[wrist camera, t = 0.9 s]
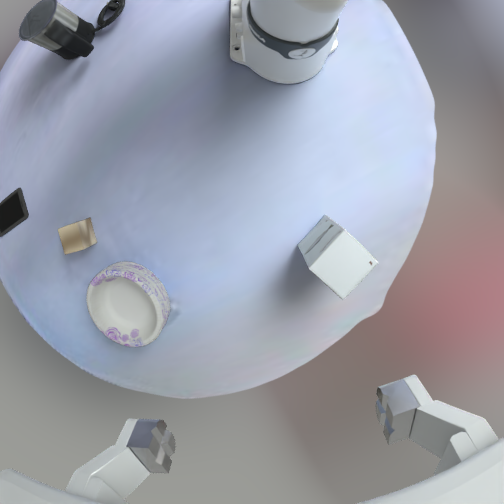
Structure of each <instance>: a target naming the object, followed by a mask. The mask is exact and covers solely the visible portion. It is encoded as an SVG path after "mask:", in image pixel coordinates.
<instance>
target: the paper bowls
mask: <svg viewBox="0 0 504 504" xmlns="http://www.w3.org/2000/svg"><path fill="white" fill-rule="evenodd" d="M87 307H88V310H89V314H90V316H91V318H92V320H93V321H94V323H95V324H96V326H97V327H98V328H99V330H100V331H101V332H102V333H103V334H104V335H106V336H107V337H108V338H110V339H111V340H113V341H114V342H116V343H119V344H122V345H125V346H129V347H141V346H145V345H148V344H150V343H151V342H153V341H154V340H155V339H156V338H157V337H158V336H159V334H160V332H161V331H162V329H163V327H164V325H165V324H166V322H167V319H168V316H169V313H170V302H169V297H168V294H167V292H166V289H165V287H164V286H163V284H162V283H161V281H160V280H159V279H158V278H157V277H156V275H155V274H154V273H152V272H151V271H150V270H148V269H147V268H145V267H144V266H142V265H139V264H137V263H133V262H128V261H124V262H117V263H114V264H112V265H110V266H108V267H107V268H105V269H104V270H102V271H101V272H100V273H98V274H97V275H96V276H95V277H94V278H93V279H92V281H91V282H90V284H89V286H88V290H87Z"/></svg>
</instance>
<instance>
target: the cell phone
mask: <svg viewBox="0 0 504 504" xmlns="http://www.w3.org/2000/svg"><path fill="white" fill-rule="evenodd" d="M28 216H29V214H28V210H27V207H26V203H25V200H24V196H23V193H22V190H21V188H18V189H16V190H15V191H14V192H13V193H11V194H10V195H9V196H8V197H7V198H5V199H4V200H3V201H2V202H1V203H0V237H1V236H3V235H4V234H6V233H7V232H8V231H10V230H11V229H13V228H14V227H15V226H17V225H18V224H20V223H21V222H22V221H24V220H25V219H27V218H28Z"/></svg>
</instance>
